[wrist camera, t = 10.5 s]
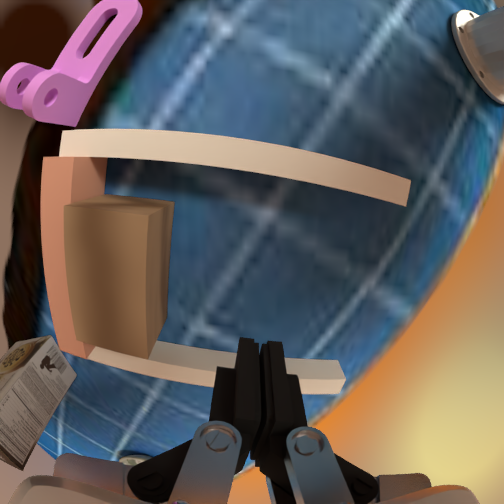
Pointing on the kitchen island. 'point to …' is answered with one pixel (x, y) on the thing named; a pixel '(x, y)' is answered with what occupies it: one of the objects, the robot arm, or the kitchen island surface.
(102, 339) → the block
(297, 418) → the robot arm
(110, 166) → the kitchen island surface
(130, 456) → the saucer
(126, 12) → the bracket
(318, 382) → the guide channel
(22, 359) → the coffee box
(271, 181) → the kitchen island surface
